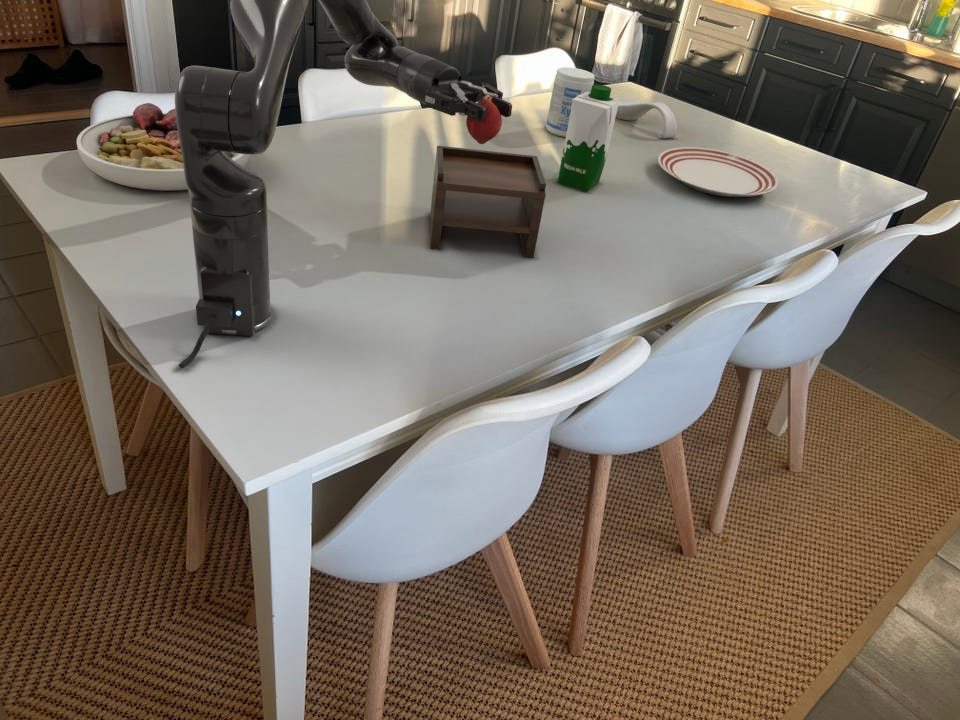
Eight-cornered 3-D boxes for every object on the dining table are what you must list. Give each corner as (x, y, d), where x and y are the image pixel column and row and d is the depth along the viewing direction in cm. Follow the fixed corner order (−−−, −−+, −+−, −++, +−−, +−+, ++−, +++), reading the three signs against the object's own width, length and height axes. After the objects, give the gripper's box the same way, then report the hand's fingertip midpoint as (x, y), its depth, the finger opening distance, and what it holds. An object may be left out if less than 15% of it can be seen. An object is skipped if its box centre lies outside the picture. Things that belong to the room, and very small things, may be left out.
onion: (494, 153, 123) (502, 104, 119) (460, 146, 124) (466, 97, 119) (500, 141, 128) (508, 94, 123) (467, 135, 128) (473, 87, 124)
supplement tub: (558, 139, 185) (570, 78, 177) (538, 126, 192) (548, 66, 184) (590, 137, 190) (603, 77, 181) (569, 124, 196) (581, 66, 188)
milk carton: (603, 183, 165) (625, 90, 154) (589, 195, 158) (611, 99, 147) (567, 172, 168) (586, 80, 156) (551, 183, 161) (569, 88, 150)
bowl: (277, 185, 142) (276, 144, 138) (107, 208, 126) (99, 162, 121) (218, 131, 161) (215, 94, 156) (63, 145, 144) (55, 104, 140)
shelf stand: (533, 258, 131) (547, 186, 124) (430, 248, 129) (437, 175, 122) (525, 223, 143) (537, 155, 135) (430, 214, 140) (436, 145, 133)
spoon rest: (594, 111, 209) (600, 84, 205) (625, 108, 215) (631, 83, 211) (654, 141, 194) (662, 113, 190) (685, 137, 200) (693, 110, 196)
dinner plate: (728, 215, 159) (733, 200, 157) (631, 168, 175) (634, 154, 173) (796, 194, 175) (801, 181, 173) (701, 153, 191) (705, 140, 189)
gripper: (398, 62, 123) (467, 94, 114) (462, 55, 132) (532, 85, 123) (394, 107, 128) (461, 142, 119) (457, 98, 137) (524, 130, 127)
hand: (497, 113), depth 121 cm, fingers closed on onion, 5 cm apart
